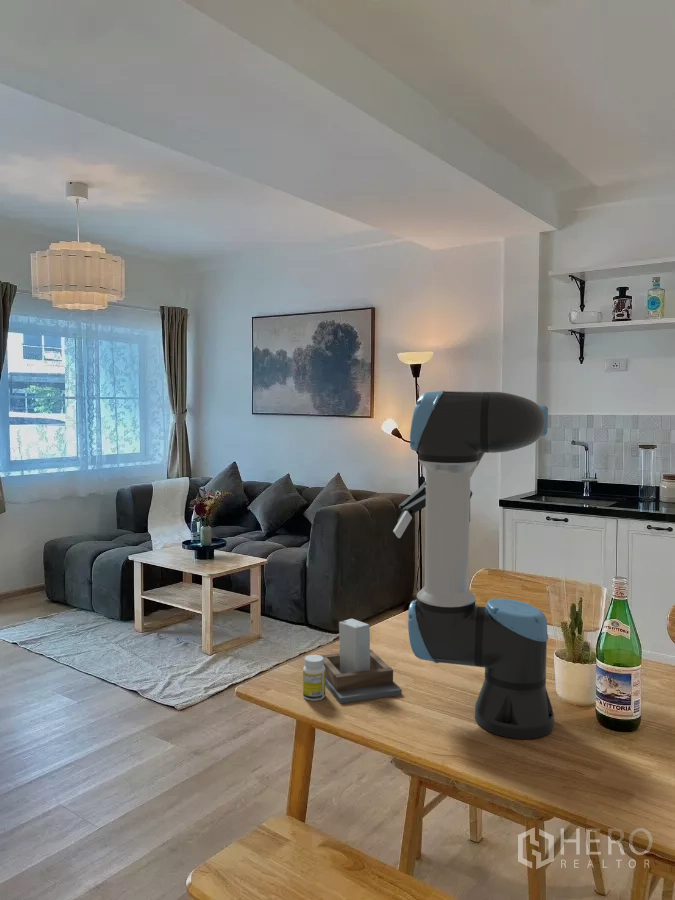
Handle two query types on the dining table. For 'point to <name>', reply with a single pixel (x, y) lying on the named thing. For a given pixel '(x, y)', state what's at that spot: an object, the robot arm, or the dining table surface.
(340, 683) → the collar stand
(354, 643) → the skincare box
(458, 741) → the dining table surface
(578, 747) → the dining table surface
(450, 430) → the robot arm
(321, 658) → the supplement bottle
